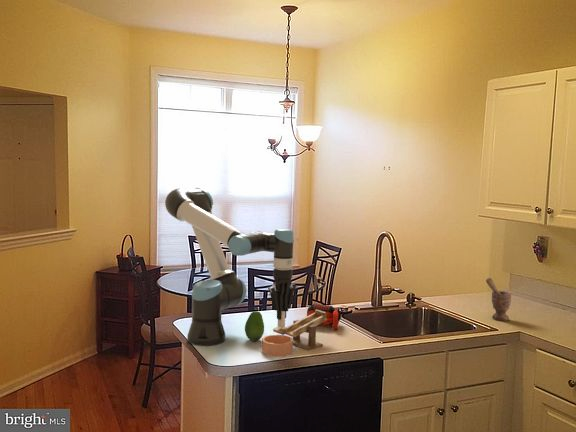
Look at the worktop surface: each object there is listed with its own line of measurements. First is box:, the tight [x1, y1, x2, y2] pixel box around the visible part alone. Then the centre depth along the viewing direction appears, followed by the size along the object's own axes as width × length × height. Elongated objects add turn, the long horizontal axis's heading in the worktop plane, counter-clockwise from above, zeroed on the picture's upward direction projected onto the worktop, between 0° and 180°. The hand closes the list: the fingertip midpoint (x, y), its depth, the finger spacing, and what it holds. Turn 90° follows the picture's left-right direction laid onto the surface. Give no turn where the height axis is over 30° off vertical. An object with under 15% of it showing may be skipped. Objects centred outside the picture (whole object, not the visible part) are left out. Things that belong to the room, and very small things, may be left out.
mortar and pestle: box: [485, 277, 512, 322], centre depth 256 cm, size 12×9×20 cm
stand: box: [291, 319, 324, 351], centre depth 212 cm, size 8×13×8 cm, turn 41°
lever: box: [272, 309, 327, 338], centre depth 214 cm, size 19×12×4 cm, turn 132°
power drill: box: [306, 303, 342, 331], centre depth 238 cm, size 15×9×15 cm
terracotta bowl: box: [261, 334, 294, 357], centre depth 203 cm, size 12×12×4 cm
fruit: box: [244, 310, 265, 342], centre depth 215 cm, size 8×8×12 cm
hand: (281, 326), depth 212 cm, fingers closed
